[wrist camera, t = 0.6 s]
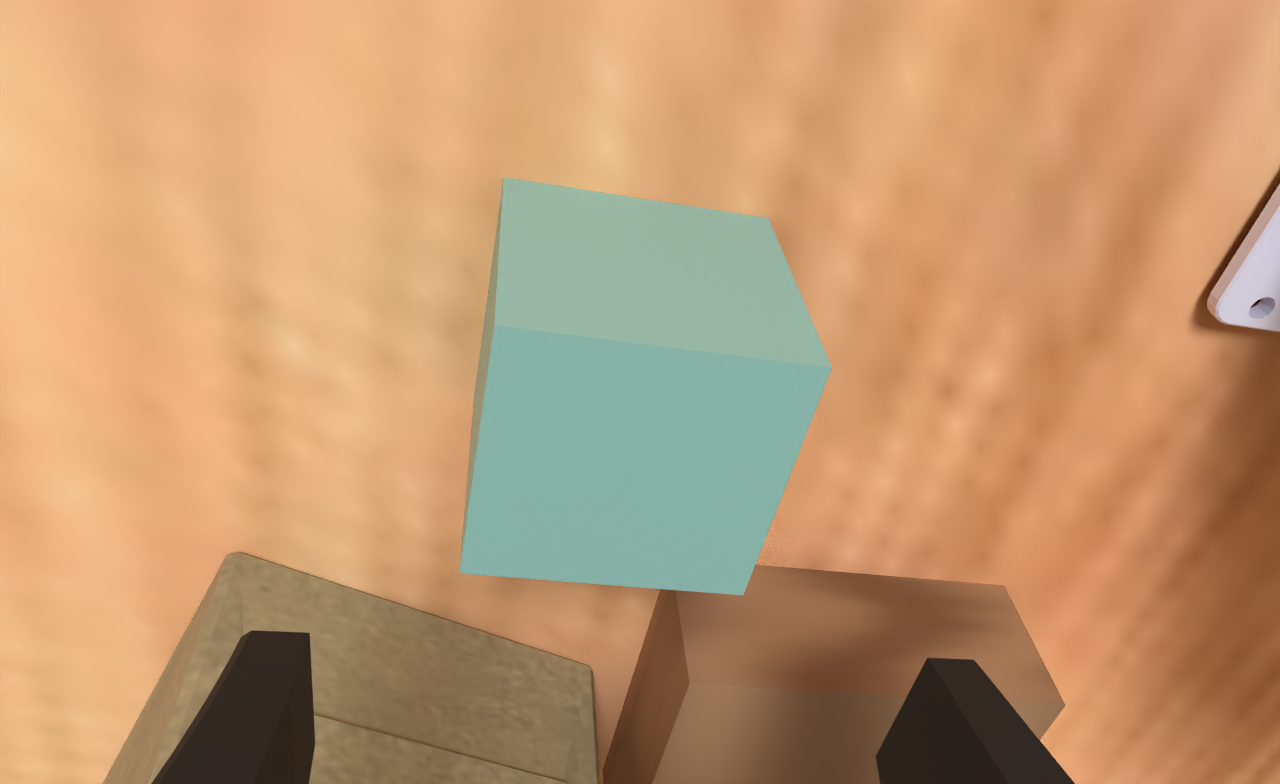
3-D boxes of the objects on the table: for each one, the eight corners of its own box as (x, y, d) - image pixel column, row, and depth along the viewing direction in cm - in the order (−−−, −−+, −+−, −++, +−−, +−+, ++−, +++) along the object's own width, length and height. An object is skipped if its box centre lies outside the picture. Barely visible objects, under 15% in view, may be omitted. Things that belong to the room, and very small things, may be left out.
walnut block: (999, 576, 26) (1065, 705, 22) (881, 771, 31) (921, 899, 28) (669, 547, 24) (689, 683, 21) (602, 759, 29) (610, 894, 26)
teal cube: (768, 215, 18) (831, 367, 14) (704, 421, 21) (742, 595, 17) (503, 175, 17) (493, 325, 13) (474, 395, 20) (459, 573, 16)
